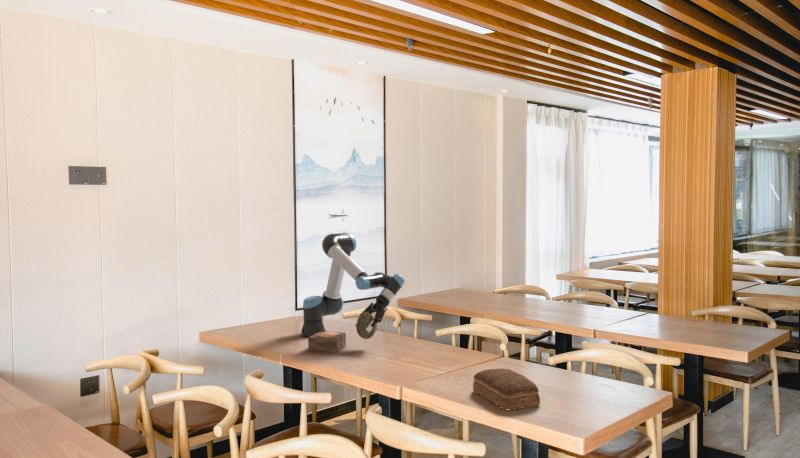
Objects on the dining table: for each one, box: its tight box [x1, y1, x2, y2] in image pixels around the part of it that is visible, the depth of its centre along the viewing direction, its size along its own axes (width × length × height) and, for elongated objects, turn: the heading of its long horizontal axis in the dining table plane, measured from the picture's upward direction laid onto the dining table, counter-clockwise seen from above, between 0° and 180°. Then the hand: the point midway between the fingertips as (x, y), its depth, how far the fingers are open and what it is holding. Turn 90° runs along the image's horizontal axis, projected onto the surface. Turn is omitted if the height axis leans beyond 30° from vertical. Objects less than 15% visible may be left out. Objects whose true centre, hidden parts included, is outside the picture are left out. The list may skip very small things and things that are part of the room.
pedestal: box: [307, 331, 347, 354], centre depth 354 cm, size 16×16×8 cm
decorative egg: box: [355, 311, 377, 340], centre depth 352 cm, size 11×11×15 cm
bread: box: [472, 367, 541, 410], centre depth 263 cm, size 17×29×11 cm, turn 20°
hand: (361, 329), depth 350 cm, fingers closed on decorative egg, 11 cm apart
